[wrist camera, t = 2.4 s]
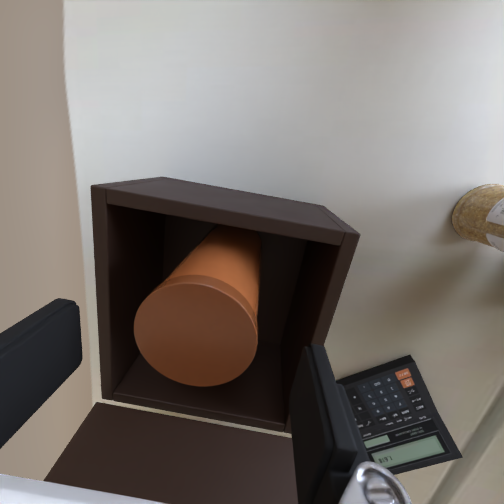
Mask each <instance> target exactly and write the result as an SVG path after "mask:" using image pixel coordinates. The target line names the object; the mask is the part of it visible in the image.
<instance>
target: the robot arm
mask: <svg viewBox="0 0 504 504" xmlns="http://www.w3.org/2000/svg"><path fill="white" fill-rule="evenodd" d="M79 313H80V312H79V306H78V305H76V303H75V301H72V300H67V299H61V298H58V299H55V300H54V301H52V302H51V303H49V304H47V305H46V306H44V307H43V308H41V309H39V310H38V311H36V312H34V313H33V314H31V315H29V316H28V317H26V318H25V319H23V320H22V321H20V322H18V323H16V324H15V325H13V326H12V327H10V328H8V329H7V330H5V331H3V332H2V333H0V449H1V448H2V446H3V445H4V444H5V443H6V442H7V441H8V440H9V439H10V438H11V437H12V436H13V435H14V434H15V433H16V431H18V430H19V429H20V428H21V427H22V425H23V424H24V423H25V422H26V421H27V420H28V419H29V418H30V417H31V416H32V415H33V414H34V413H35V412H36V411H37V410H38V409H39V408H40V407H41V406H42V404H43V403H44V402H45V401H46V400H47V399H48V398H49V397H50V396H51V395H52V394H53V393H54V392H55V391H56V390H57V389H58V388H59V387H60V386H61V384H62V383H63V382H64V381H65V380H66V379H67V378H68V377H69V376H70V375H71V374H72V373H73V372H74V371H75V370H76V369H77V368H78V367H79V365H80V364H81V361H82V342H81V327H80V314H79ZM289 411H290V422H291V433H292V444H293V454H294V465H295V476H296V487H297V498H298V504H412V503H411V500H410V498H409V496H408V494H407V492H406V490H405V488H404V487H403V485H402V484H401V483H400V481H399V480H398V479H397V478H396V477H395V476H394V475H393V474H392V473H391V472H390V471H389V470H387V469H386V468H385V467H383V466H382V465H379V464H377V463H374V462H370V459H369V456H368V454H367V451H366V448H365V445H364V442H363V439H362V437H361V434H360V431H359V428H358V425H357V422H356V420H355V417H354V414H353V411H352V408H351V405H350V403H349V400H348V397H347V394H346V391H345V389H344V387H343V386H342V385H341V384H337V383H336V381H335V378H334V375H333V372H332V369H331V365H330V362H329V359H328V356H327V353H326V350H325V347H324V346H322V345H316V344H311V343H310V344H309V345H308V347H307V346H304V348H303V351H302V354H301V358H300V361H299V364H298V368H297V371H296V375H295V378H294V382H293V385H292V389H291V392H290V396H289ZM0 504H166V503H161V502H156V501H150V500H145V499H140V498H134V497H129V496H123V495H118V494H112V493H107V492H101V491H96V490H90V489H84V488H79V487H73V486H68V485H62V484H57V483H51V482H45V481H40V480H34V479H28V478H23V477H17V476H11V475H5V474H0Z"/></svg>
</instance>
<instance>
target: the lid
mask: <svg viewBox="0 0 504 504" xmlns="http://www.w3.org/2000/svg"><path fill="white" fill-rule="evenodd" d="M44 481H45V482H51V483H57V484H62V485H68V486H73V487H79V488H84V489H90V490H96V491H101V492H107V493H112V494H118V495H123V496H129V497H134V498H140V499H145V500H150V501H156V502H161V503H166V504H298V498H297V487H296V476H295V465H294V454H293V444H292V438H288V437H283V436H277V435H272V434H266V433H261V432H256V431H250V430H245V429H239V428H234V427H229V426H223V425H218V424H213V423H207V422H202V421H196V420H191V419H186V418H180V417H175V416H169V415H164V414H159V413H153V412H148V411H142V410H137V409H132V408H126V407H121V406H116V405H110V404H105V403H99V402H96V404H95V405H94V407H93V408H92V410H91V411H90V412H89V414H88V416H87V417H86V418H85V420H84V421H83V423H82V424H81V426H80V427H79V429H78V430H77V432H76V433H75V435H74V436H73V438H72V439H71V441H70V442H69V444H68V445H67V447H66V448H65V450H64V451H63V453H62V454H61V456H60V457H59V458H58V460H57V462H56V463H55V464H54V466H53V467H52V469H51V470H50V472H49V473H48V475H47V476H46V478H45V479H44Z"/></svg>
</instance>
